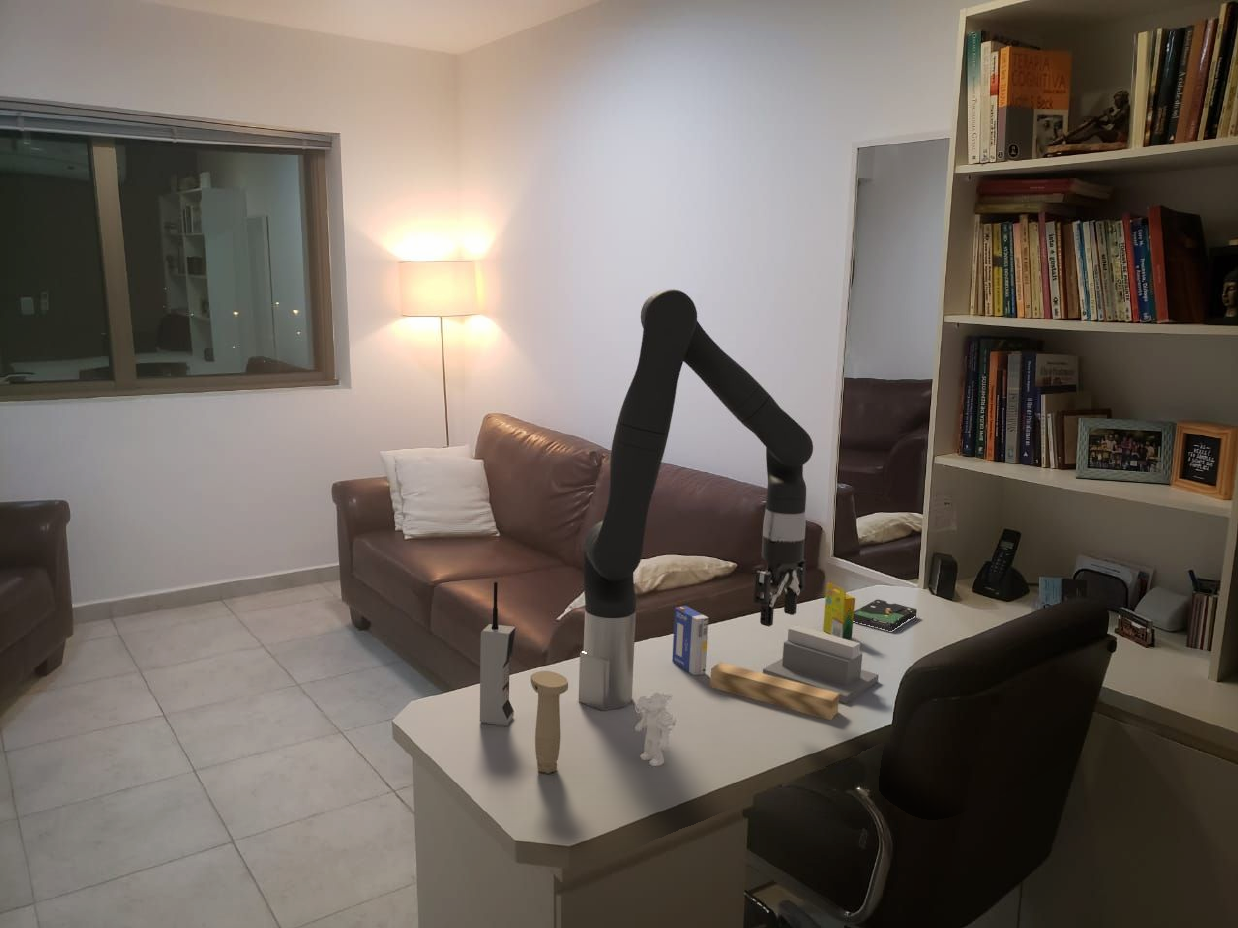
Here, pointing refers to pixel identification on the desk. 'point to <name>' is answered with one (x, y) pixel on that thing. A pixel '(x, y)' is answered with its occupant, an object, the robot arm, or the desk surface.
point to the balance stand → (823, 663)
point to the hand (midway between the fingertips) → (778, 619)
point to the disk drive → (884, 614)
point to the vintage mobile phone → (495, 670)
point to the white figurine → (655, 726)
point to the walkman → (690, 640)
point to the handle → (548, 718)
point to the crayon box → (838, 612)
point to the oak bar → (775, 690)
